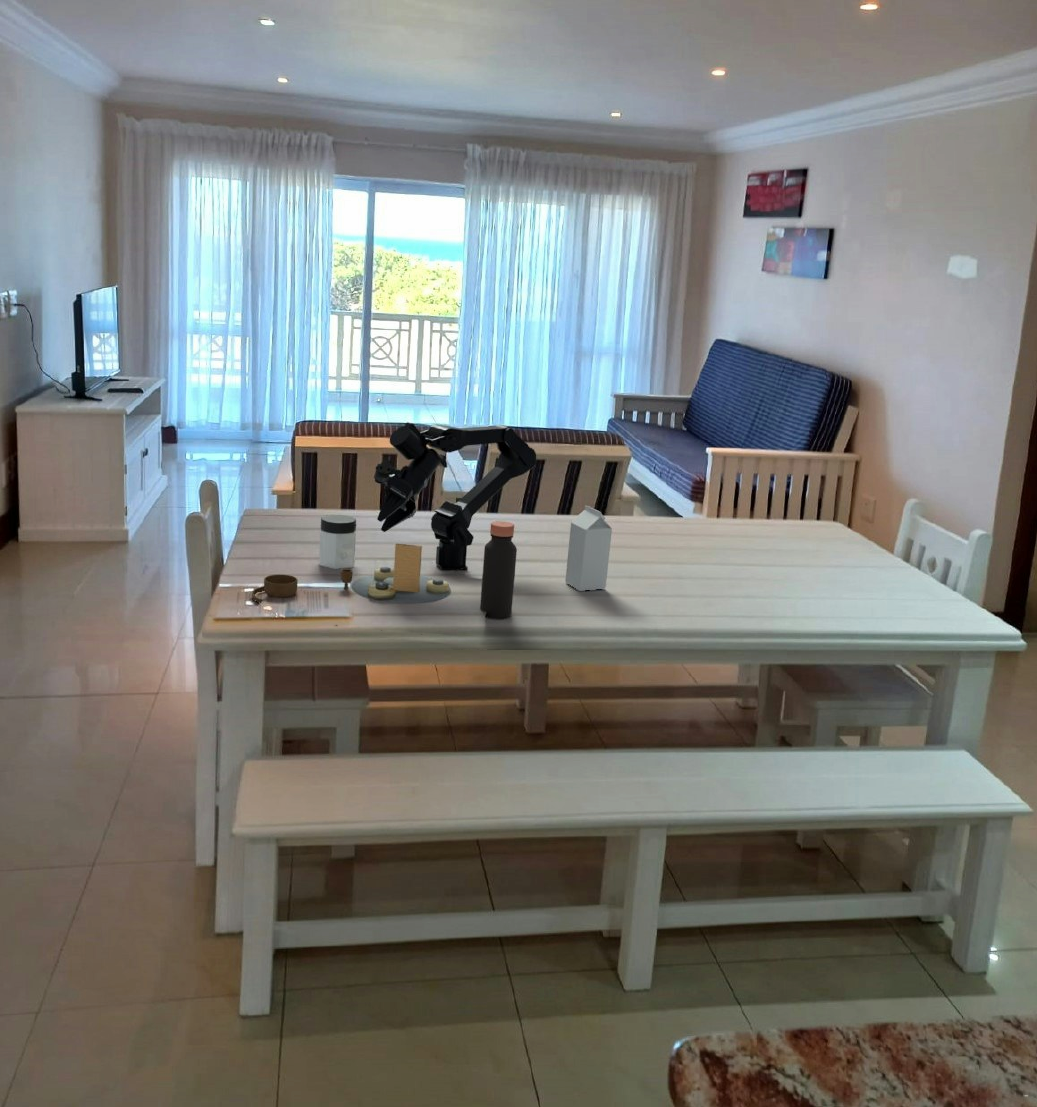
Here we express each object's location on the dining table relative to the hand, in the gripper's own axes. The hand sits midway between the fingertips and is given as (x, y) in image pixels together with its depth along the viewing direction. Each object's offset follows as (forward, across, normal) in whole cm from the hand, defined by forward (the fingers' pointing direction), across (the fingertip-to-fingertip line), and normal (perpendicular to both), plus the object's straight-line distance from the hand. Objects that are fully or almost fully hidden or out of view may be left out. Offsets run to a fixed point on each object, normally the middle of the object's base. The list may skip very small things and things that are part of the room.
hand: (380, 525), depth 248 cm
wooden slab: (+13, +10, +13) cm, 21 cm away
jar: (+13, -10, -5) cm, 17 cm away
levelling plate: (+11, +3, +13) cm, 17 cm away
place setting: (+25, +12, -2) cm, 28 cm away
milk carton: (-16, -11, +46) cm, 50 cm away
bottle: (+5, +12, +34) cm, 36 cm away
